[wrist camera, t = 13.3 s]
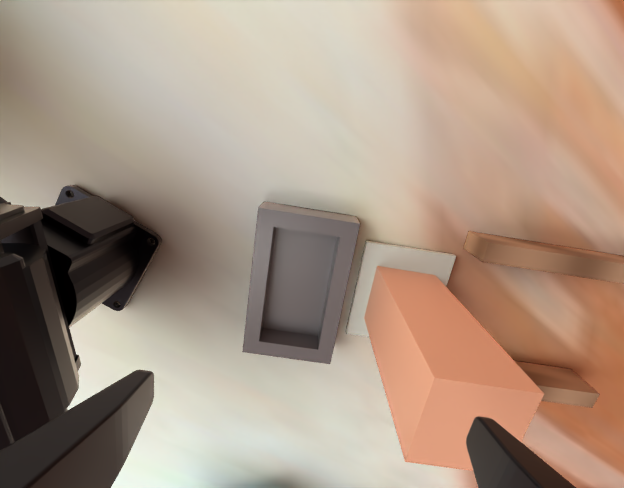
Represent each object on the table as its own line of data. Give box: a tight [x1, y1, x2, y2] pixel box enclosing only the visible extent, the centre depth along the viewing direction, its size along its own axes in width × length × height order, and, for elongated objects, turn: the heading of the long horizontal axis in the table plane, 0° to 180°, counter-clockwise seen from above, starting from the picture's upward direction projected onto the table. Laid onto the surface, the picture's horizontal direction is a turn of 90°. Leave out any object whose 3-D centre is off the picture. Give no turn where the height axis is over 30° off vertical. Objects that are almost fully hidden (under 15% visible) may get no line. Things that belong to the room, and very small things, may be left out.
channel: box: [463, 231, 624, 408], centre depth 21 cm, size 11×10×2 cm
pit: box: [243, 202, 360, 364], centre depth 21 cm, size 6×10×2 cm, turn 171°
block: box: [364, 266, 544, 471], centre depth 17 cm, size 4×4×10 cm
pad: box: [346, 241, 456, 337], centre depth 22 cm, size 6×7×1 cm
